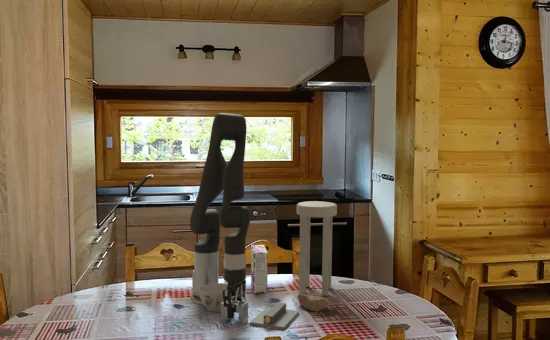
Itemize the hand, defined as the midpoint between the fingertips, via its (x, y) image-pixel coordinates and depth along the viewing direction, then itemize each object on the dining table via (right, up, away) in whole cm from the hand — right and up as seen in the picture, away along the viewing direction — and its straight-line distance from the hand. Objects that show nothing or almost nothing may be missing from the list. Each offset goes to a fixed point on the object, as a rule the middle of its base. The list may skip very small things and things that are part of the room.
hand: (234, 314), depth 181 cm
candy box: (+7, +1, +37) cm, 38 cm away
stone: (+27, -2, +14) cm, 31 cm away
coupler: (+14, -2, +3) cm, 14 cm away
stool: (+30, 0, +35) cm, 46 cm away
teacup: (-9, -1, +12) cm, 15 cm away
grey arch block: (0, -2, 0) cm, 2 cm away
